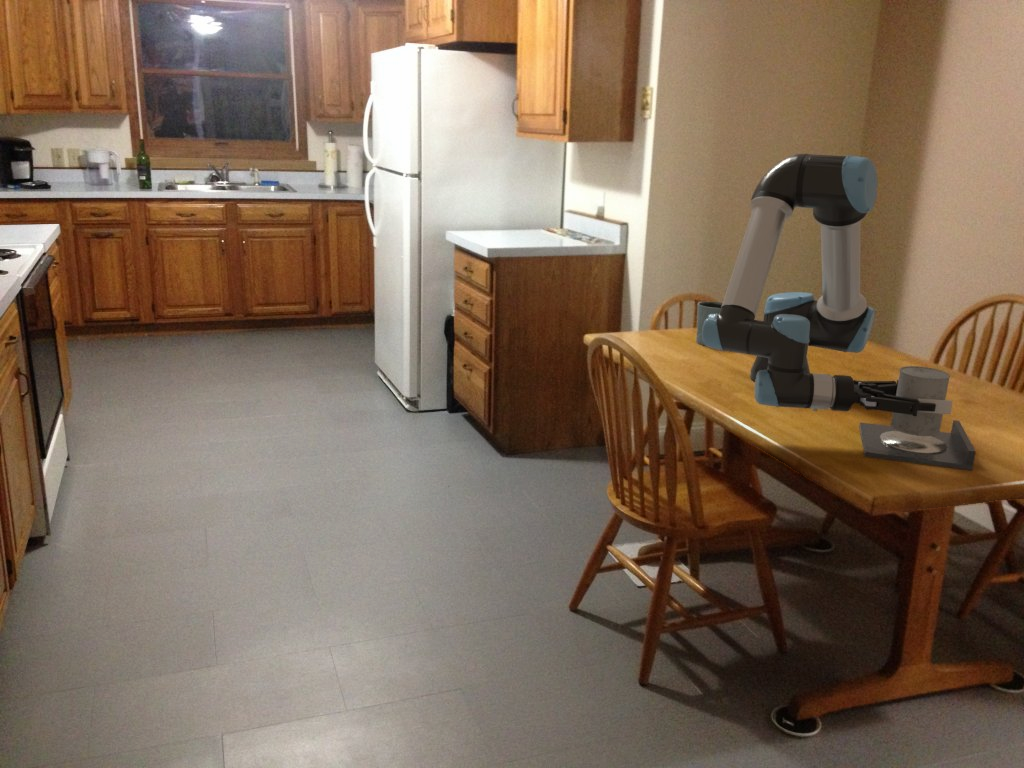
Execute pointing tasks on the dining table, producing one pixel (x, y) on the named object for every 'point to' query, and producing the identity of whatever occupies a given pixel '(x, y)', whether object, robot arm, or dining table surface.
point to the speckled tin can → (923, 386)
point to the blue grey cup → (705, 316)
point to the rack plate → (919, 446)
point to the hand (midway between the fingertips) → (942, 400)
